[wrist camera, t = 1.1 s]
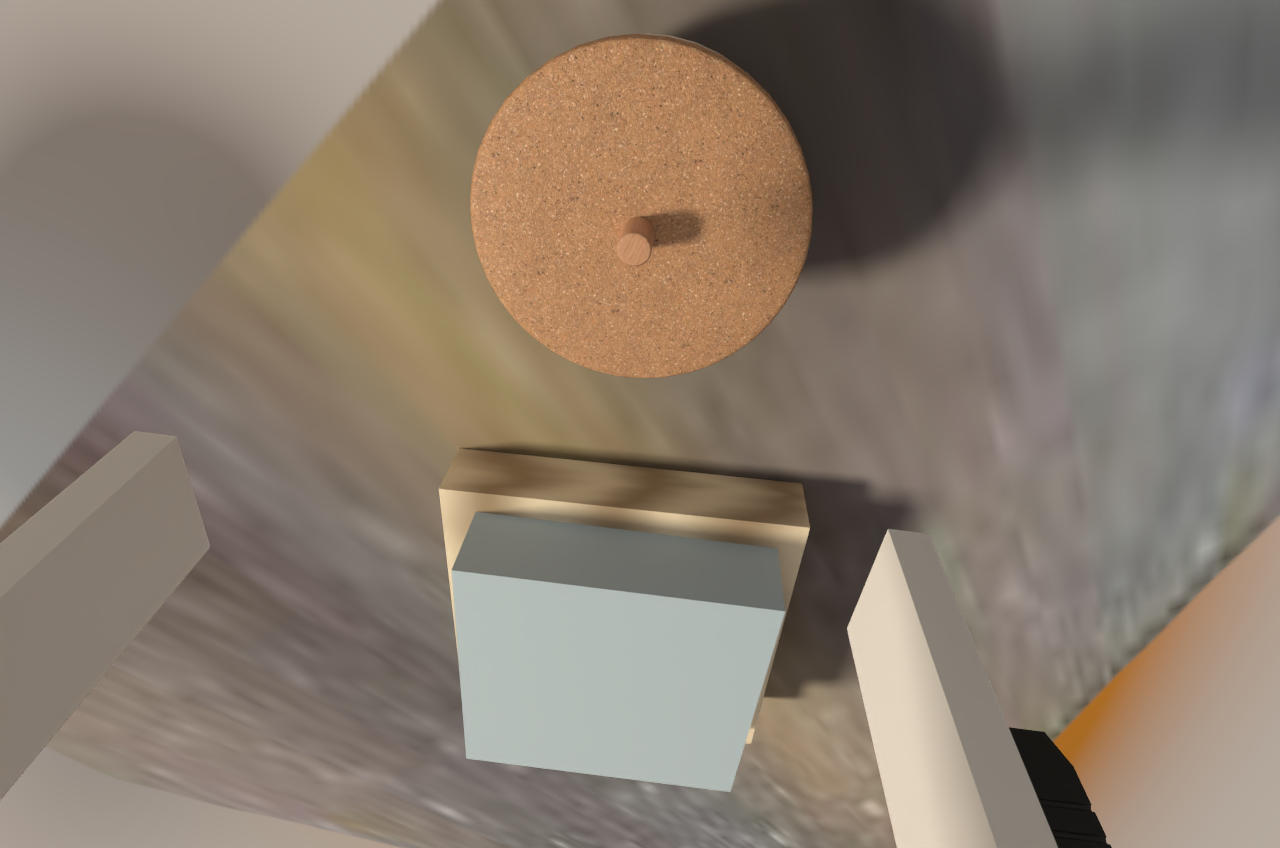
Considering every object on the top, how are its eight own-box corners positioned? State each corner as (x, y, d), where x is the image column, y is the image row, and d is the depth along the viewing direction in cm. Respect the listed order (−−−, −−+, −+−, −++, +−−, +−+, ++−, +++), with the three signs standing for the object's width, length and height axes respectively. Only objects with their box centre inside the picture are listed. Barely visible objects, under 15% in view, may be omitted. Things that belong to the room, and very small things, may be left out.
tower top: (777, 548, 35) (785, 611, 31) (728, 727, 43) (730, 791, 40) (475, 511, 35) (451, 570, 31) (484, 696, 43) (466, 758, 40)
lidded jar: (486, 225, 30) (409, 318, 22) (585, -44, 25) (530, -45, 17) (705, 332, 32) (705, 452, 24) (843, 105, 27) (901, 167, 19)
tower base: (800, 476, 37) (810, 528, 34) (747, 687, 47) (750, 743, 44) (462, 441, 37) (438, 488, 34) (481, 658, 47) (464, 711, 44)
